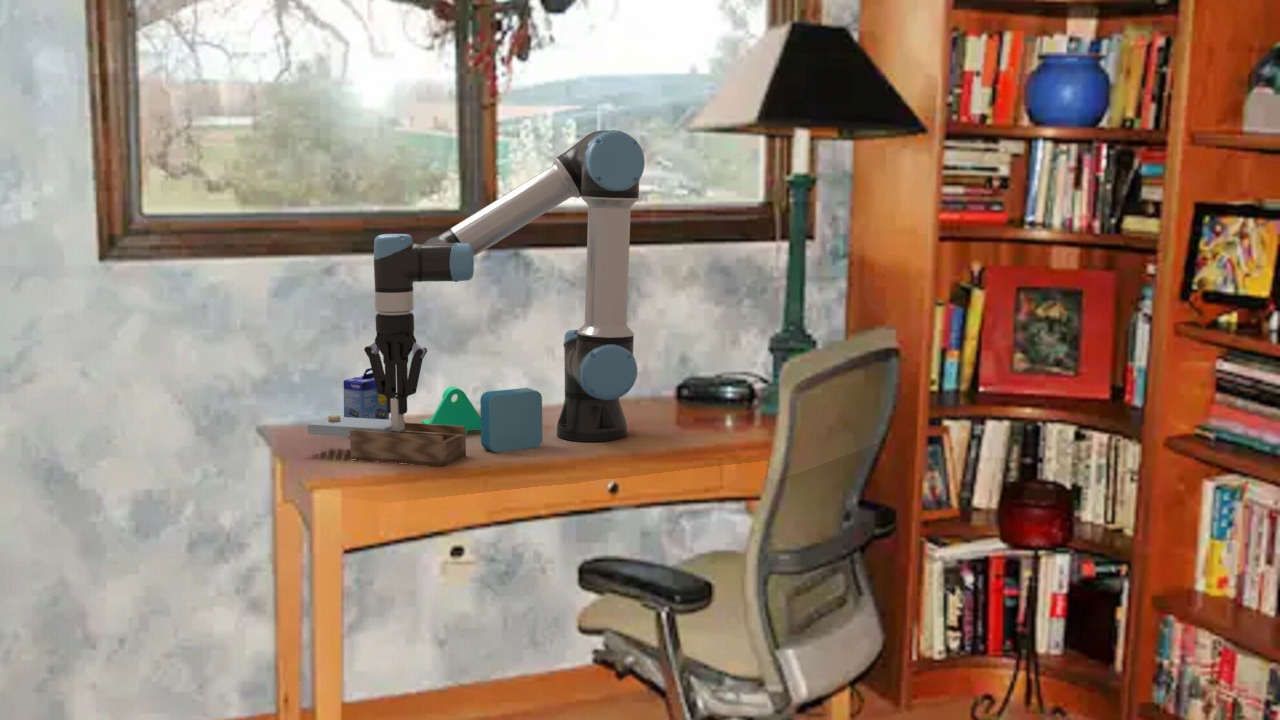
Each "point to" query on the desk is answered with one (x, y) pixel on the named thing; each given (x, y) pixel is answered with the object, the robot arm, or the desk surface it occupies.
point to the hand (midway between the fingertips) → (397, 429)
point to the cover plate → (348, 426)
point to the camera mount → (456, 411)
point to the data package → (511, 419)
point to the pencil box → (411, 444)
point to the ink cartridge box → (364, 398)
